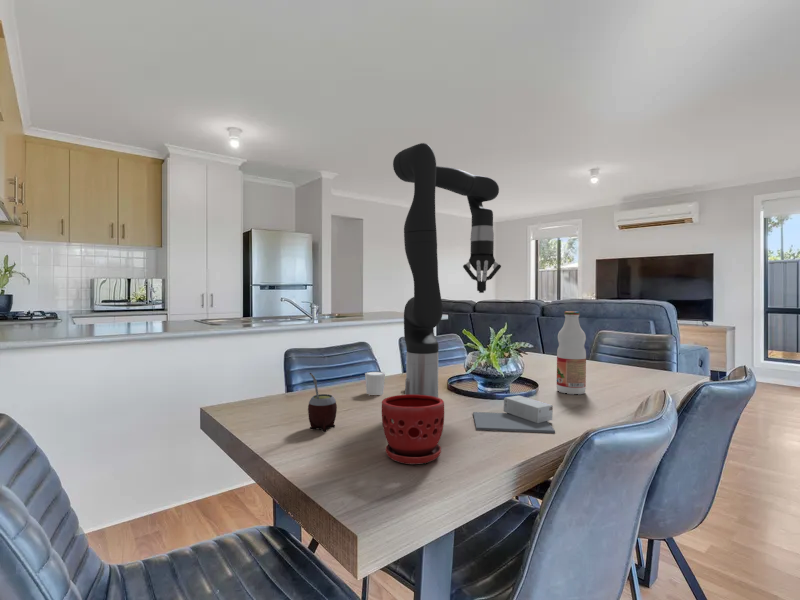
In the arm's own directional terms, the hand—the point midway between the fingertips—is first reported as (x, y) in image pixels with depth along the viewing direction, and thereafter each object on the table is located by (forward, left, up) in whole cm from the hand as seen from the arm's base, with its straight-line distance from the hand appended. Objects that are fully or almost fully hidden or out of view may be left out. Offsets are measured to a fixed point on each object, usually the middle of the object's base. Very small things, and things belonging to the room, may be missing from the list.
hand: (481, 292), depth 143 cm
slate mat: (+6, -30, -34) cm, 46 cm away
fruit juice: (+32, +9, -34) cm, 48 cm away
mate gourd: (-42, -41, -34) cm, 68 cm away
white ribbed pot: (-35, -3, -34) cm, 50 cm away
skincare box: (+7, -20, -31) cm, 38 cm away
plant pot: (-18, -56, -34) cm, 68 cm away
